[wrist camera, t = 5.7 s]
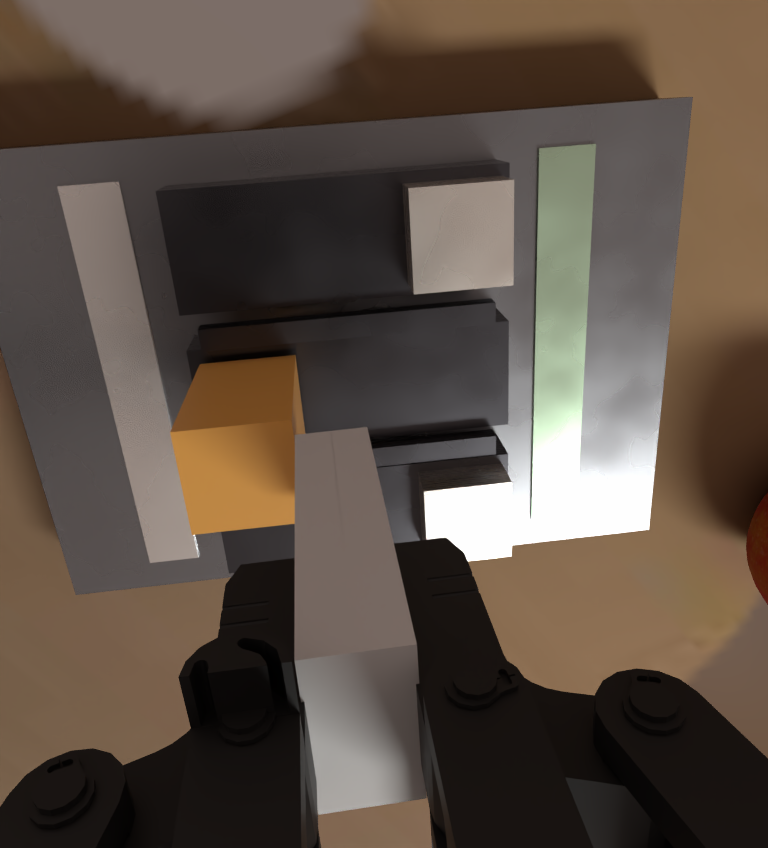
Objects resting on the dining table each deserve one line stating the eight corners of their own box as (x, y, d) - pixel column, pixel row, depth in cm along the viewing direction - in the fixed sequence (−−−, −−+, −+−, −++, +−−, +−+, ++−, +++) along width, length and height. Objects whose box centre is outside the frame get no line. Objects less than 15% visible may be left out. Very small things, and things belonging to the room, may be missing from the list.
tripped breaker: (215, 449, 20) (191, 534, 16) (200, 364, 19) (170, 432, 15) (306, 440, 20) (305, 522, 16) (295, 354, 19) (291, 419, 15)
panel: (92, 560, 26) (49, 650, 21) (-25, 150, 20) (-117, 160, 16) (625, 501, 27) (685, 575, 23) (659, 98, 21) (748, 94, 17)
